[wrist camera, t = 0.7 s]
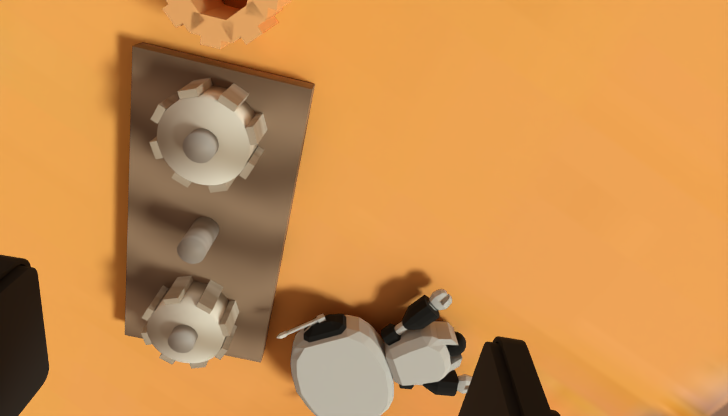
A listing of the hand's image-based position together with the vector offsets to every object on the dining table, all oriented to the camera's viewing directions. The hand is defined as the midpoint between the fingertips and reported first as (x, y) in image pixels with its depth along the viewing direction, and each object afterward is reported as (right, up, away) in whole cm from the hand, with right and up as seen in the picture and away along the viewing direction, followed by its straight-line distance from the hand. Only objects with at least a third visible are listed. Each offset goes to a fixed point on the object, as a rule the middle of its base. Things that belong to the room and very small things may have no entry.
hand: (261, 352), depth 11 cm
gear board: (-10, +2, +30) cm, 32 cm away
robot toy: (+4, -9, +36) cm, 37 cm away
